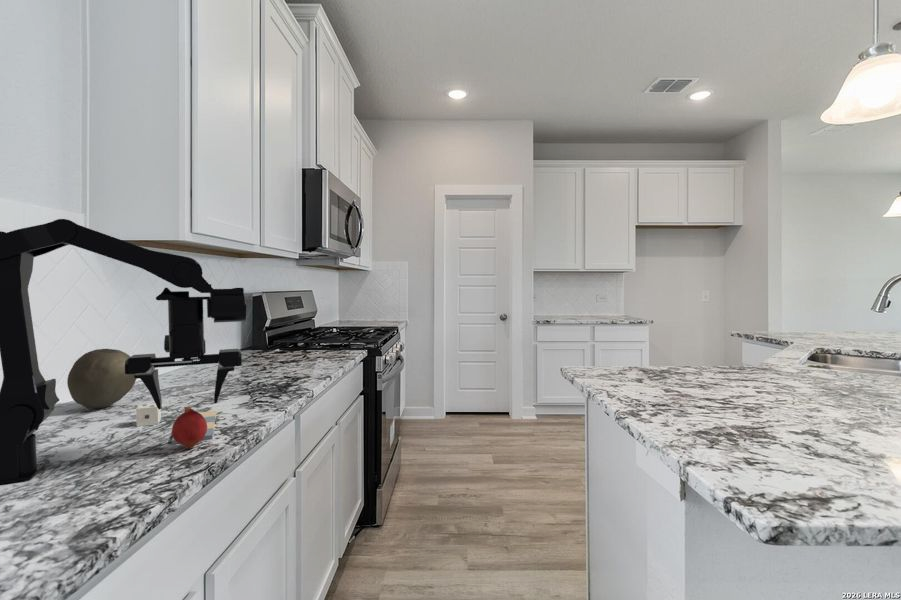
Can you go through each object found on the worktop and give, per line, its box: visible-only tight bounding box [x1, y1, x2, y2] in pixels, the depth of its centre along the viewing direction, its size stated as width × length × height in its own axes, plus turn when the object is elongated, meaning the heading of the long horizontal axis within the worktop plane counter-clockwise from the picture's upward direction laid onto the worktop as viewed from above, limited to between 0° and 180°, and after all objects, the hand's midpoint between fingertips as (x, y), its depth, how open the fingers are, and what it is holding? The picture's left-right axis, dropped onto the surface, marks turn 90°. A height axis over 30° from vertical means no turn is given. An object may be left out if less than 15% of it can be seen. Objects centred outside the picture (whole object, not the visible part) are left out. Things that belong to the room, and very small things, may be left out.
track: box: [171, 410, 217, 445], centre depth 99 cm, size 20×7×1 cm, turn 25°
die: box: [135, 402, 162, 427], centre depth 103 cm, size 4×4×4 cm
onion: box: [171, 406, 207, 450], centre depth 86 cm, size 6×6×8 cm
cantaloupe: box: [66, 348, 137, 410], centre depth 117 cm, size 14×14×15 cm
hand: (188, 405), depth 86 cm, fingers open, 9 cm apart
